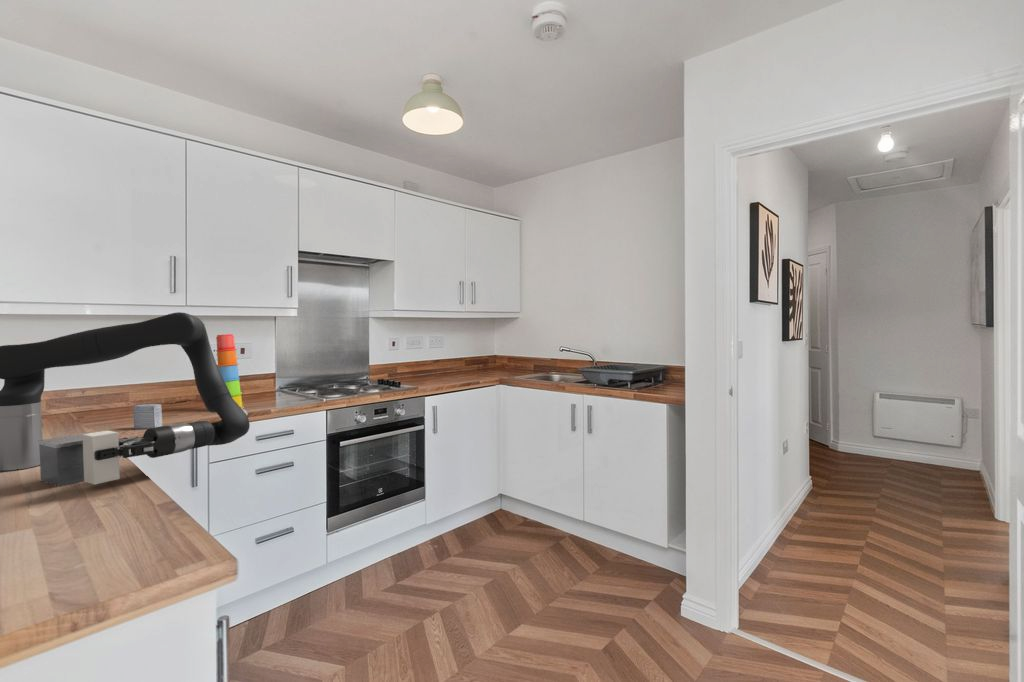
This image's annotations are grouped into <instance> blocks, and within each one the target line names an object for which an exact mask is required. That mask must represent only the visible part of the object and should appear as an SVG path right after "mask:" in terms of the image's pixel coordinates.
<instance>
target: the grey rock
mask: <svg viewBox="0 0 1024 682" xmlns="http://www.w3.org/2000/svg"><path fill="white" fill-rule="evenodd" d="M243 406H244V403H243V402H242V407H243ZM242 407H240V408H241V409H242V410H243V411H244V412H245V414H246V415H247V416H248V415H249V413H248V411H247V410H246V409H245V408H244V409H243V408H242Z"/></svg>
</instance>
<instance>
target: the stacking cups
mask: <svg viewBox="0 0 1024 682" xmlns="http://www.w3.org/2000/svg"><path fill="white" fill-rule="evenodd" d="M215 339H216V350H215V351H216V357H217V366H218V369H219V371H220V373H221V375H222V377H223V379H224V381H225V383H226V385H227V388H228V390H229V392H230V394H231V396H232V398H233V400H234V401H235V402H236V403H237V404H238V405H239V406H240V407H242V408H244V409H245V406H243V405H242V403H243V400H242V399H243V398H242V397H243V396H242V394H243V392H242V391H241V383H240V379H241V377H240V376H239V367H238V365H239V363H238V361H237V353H236V352H237V351H236V350H237V348H236V345H235V344H236V343H235V336H234V334H230V333H227V334H217V335H216V338H215Z"/></svg>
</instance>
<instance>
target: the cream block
mask: <svg viewBox="0 0 1024 682" xmlns="http://www.w3.org/2000/svg"><path fill="white" fill-rule="evenodd" d="M88 433H89V434H84V433H81V434H82V435H83V462H84V481H83V482H85V483H88V484H91V485H99V484H103V483H107V482H112V481H115V480H120V479H121V476H120V458H116V456H115V457H114V458H108V459H103V460H95V451H97V450H103V449H108V448H115V449H116V447H117V446H119V444H118V439H119V431H112V430H102V431H96V432H88Z"/></svg>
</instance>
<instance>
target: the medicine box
mask: <svg viewBox="0 0 1024 682" xmlns="http://www.w3.org/2000/svg"><path fill="white" fill-rule="evenodd" d="M132 412H133V413H132V414H133V415H132V416H133V428H134V430H138V429H140V430H142V429H144V430H145V429H146V430H147V429H149V428H155V427H161V426H163V412H162V404H161V403H159V404H157V403H152V404H151V403H150V404H147V403H146V404H138V405H135V406H132Z"/></svg>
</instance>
